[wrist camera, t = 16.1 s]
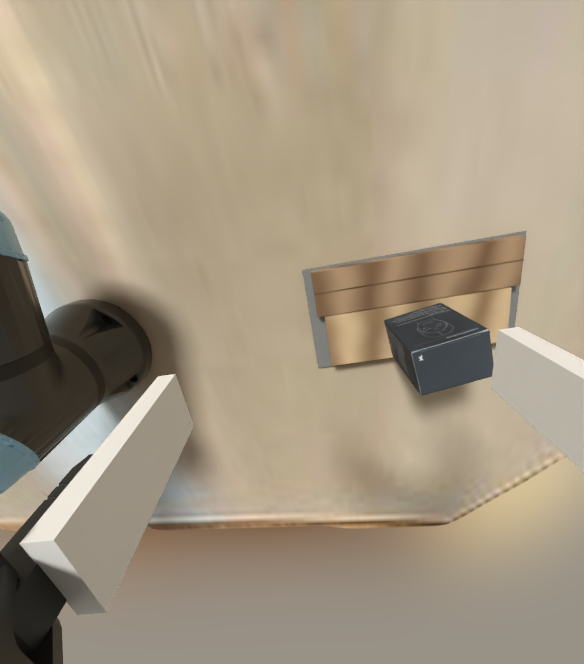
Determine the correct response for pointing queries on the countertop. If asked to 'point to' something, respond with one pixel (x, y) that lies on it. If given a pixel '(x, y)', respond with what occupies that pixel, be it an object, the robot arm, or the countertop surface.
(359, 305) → the floor strip
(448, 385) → the box
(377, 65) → the countertop surface
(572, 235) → the countertop surface
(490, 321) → the plank
